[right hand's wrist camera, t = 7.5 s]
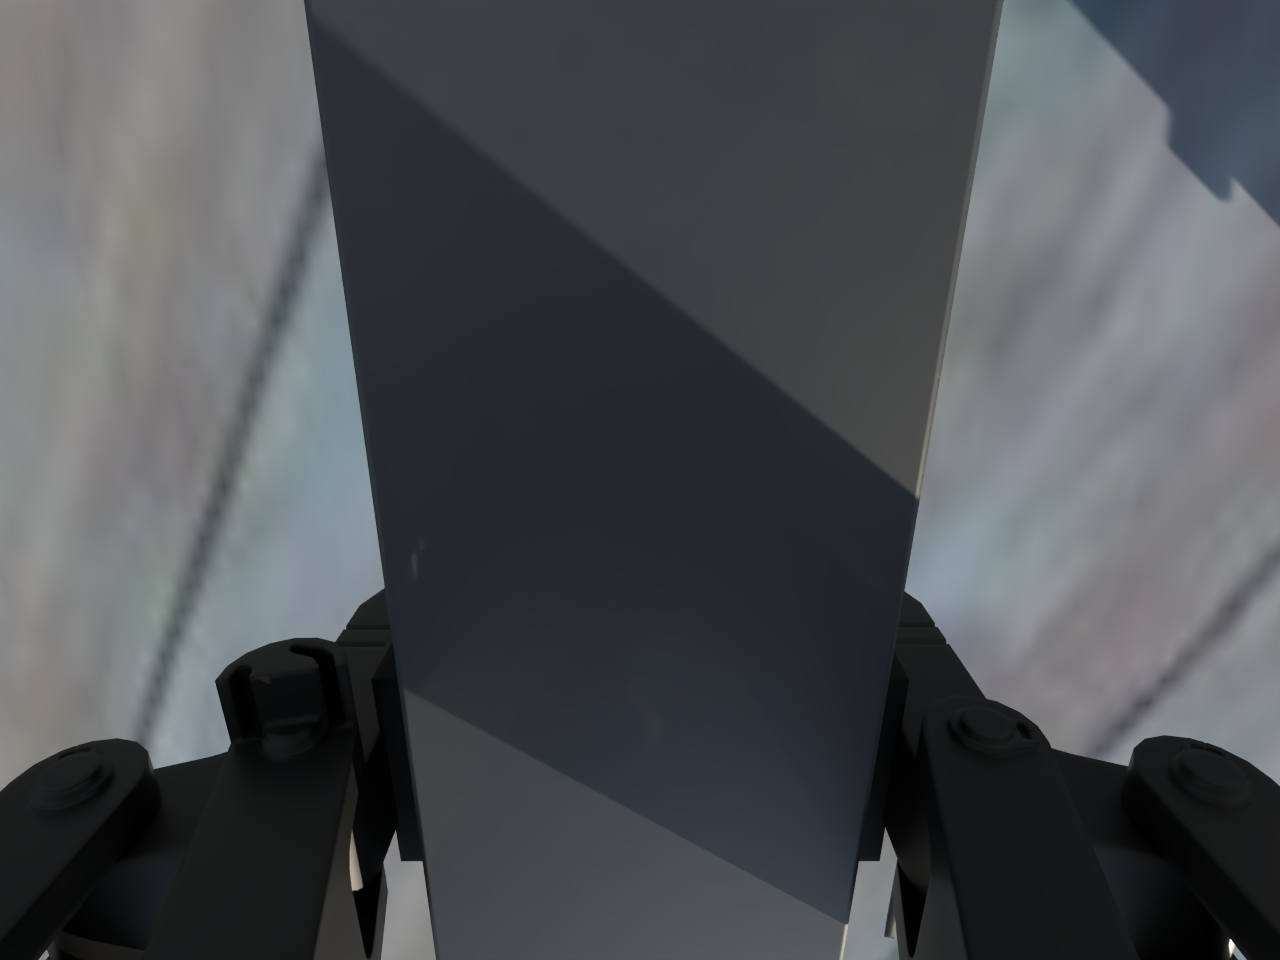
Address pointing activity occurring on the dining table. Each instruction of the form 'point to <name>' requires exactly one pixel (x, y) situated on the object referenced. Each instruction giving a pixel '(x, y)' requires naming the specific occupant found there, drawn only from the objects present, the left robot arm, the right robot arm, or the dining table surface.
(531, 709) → the beam
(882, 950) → the dining table surface
